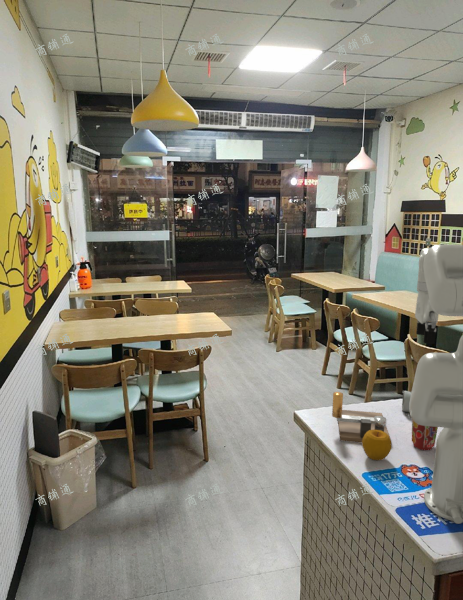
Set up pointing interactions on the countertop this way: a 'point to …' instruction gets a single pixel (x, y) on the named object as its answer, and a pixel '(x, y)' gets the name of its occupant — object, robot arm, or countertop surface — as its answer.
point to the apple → (376, 444)
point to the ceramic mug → (406, 401)
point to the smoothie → (423, 436)
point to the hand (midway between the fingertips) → (425, 338)
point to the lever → (337, 413)
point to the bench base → (358, 426)
